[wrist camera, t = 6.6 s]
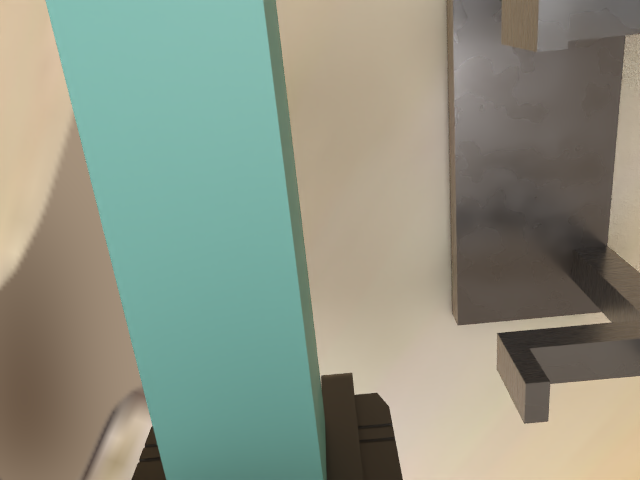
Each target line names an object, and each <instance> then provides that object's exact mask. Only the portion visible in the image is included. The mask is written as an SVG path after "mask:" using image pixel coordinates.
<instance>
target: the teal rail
mask: <svg viewBox="0 0 640 480" xmlns="http://www.w3.org/2000/svg"><path fill="white" fill-rule="evenodd" d="M46 4H47V8H48V12H49V16H50V20H51V24H52V28H53V32H54V36H55V40H56V44H57V48H58V52H59V56H60V60H61V64H62V68H63V72H64V76H65V80H66V84H67V88H68V92H69V96H70V100H71V104H72V107H73V111H74V115H75V119H76V123H77V127H78V131H79V135H80V139H81V143H82V147H83V151H84V155H85V158H86V163H87V167H88V171H89V175H90V179H91V183H92V187H93V191H94V195H95V199H96V203H97V207H98V210H99V215H100V218H101V223H102V226H103V231H104V235H105V238H106V242H107V246H108V250H109V254H110V258H111V262H112V266H113V270H114V274H115V278H116V282H117V286H118V290H119V294H120V298H121V301H122V306H123V310H124V314H125V318H126V322H127V326H128V329H129V334H130V338H131V342H132V346H133V349H134V354H135V358H136V361H137V365H138V370H139V374H140V378H141V381H142V385H143V389H144V393H145V397H146V401H147V405H148V409H149V413H150V417H151V421H152V425H153V429H154V433H155V437H156V441H157V445H158V449H159V453H160V457H161V461H162V465H163V469H164V473H165V477H166V480H327V473H326V438H325V415H324V407H323V398H322V390H321V381H320V373H319V364H318V356H317V347H316V339H315V330H314V322H313V313H312V305H311V296H310V288H309V279H308V271H307V262H306V254H305V245H304V237H303V228H302V220H301V212H300V203H299V195H298V186H297V178H296V169H295V161H294V152H293V144H292V135H291V127H290V118H289V110H288V101H287V93H286V84H285V76H284V67H283V59H282V50H281V42H280V33H279V25H278V16H277V8H276V0H46Z"/></svg>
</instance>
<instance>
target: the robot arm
mask: <svg viewBox="0 0 640 480" xmlns="http://www.w3.org/2000/svg"><path fill="white" fill-rule="evenodd" d="M321 387H322V398H323V407H324V415H325V438H326V473H327V480H403V479H402V473H401V468H400V463H399V457H398V452H397V447H396V441H395V436H394V431H393V427H392V420H391V415H390V409H389V406H388V405H387V404H386V403H385V401H384V400H383V399H382V398H381V397H380V396H379V395H378V393H371V394H359V395H354V386H353V377H352V373H344V374H333V375H322V376H321ZM139 460H140V462H139V463H138V464H137V467H136V469H135V472H134V475H133V477H132V480H166V477H165V473H164V469H163V465H162V461H161V457H160V453H159V449H158V445H157V441H156V437H155V433H154V429H153V426H152V427H151V430H150V432H149V435H148V438H147V440H146V443H145V448H143V451H142V454H141V456H140V459H139Z"/></svg>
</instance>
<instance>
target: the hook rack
mask: <svg viewBox="0 0 640 480" xmlns="http://www.w3.org/2000/svg"><path fill="white" fill-rule="evenodd" d="M632 34H640V0H447V47H448V100H449V153H450V206H451V259H452V311H453V316H454V318H455V320H456V323H457V325H467V324H477V323H488V322H499V321H510V320H521V319H532V318H542V317H553V316H564V315H575V314H586V313H597V312H601V311H602V312H603V313H604V314H605V316H606V317H607V318H608V319H609V320H610V321H611V322H612V323H603V324H592V325H581V326H570V327H559V328H548V329H537V330H527V331H516V332H505V333H497V370H498V372H499V374H500V376H501V378H502V380H503V382H504V384H505V386H506V388H507V390H508V392H509V394H510V396H511V398H512V400H513V402H514V404H515V406H516V408H517V410H518V412H519V414H520V416H521V418H522V420H523V422H524V423H536V422H547V421H548V415H549V396H550V384H554V383H565V382H576V381H587V380H598V379H609V378H621V377H632V376H640V273H639V272H638V271H637V270H635V269H634V268H633V267H632V266H631V265H629V264H628V263H627V262H626V261H625V260H623V259H622V258H621V257H620V256H618V255H617V254H616V253H615V252H614V251H612V250H611V249H610V248H609V247H608V246H607V241H608V230H609V218H610V207H611V195H612V184H613V172H614V161H615V149H616V137H617V126H618V114H619V103H620V91H621V80H622V68H623V57H624V45H625V35H632Z"/></svg>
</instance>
